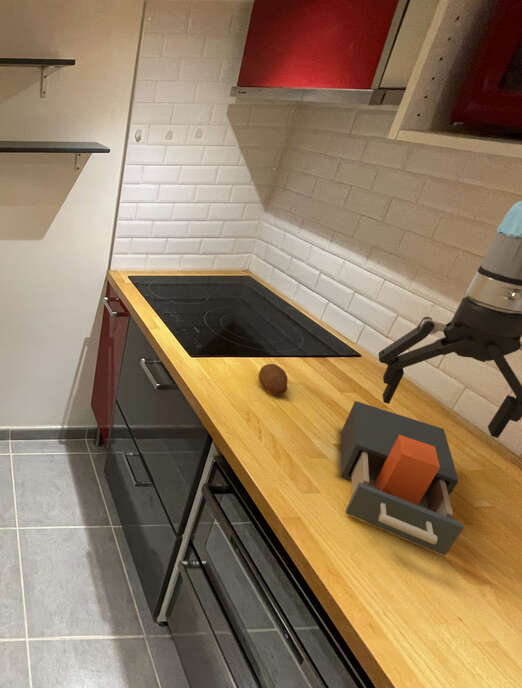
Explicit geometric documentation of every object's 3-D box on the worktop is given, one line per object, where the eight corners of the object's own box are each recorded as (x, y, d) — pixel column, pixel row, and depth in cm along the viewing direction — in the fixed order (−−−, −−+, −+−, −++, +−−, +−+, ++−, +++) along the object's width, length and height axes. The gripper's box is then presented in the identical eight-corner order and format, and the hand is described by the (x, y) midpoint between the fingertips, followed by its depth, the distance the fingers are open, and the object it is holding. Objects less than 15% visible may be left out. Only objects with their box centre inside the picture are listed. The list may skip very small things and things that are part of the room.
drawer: (449, 576, 72) (469, 548, 69) (345, 530, 79) (359, 502, 76) (432, 494, 86) (448, 468, 84) (345, 461, 94) (357, 436, 91)
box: (408, 494, 85) (435, 446, 80) (411, 516, 80) (440, 467, 76) (374, 481, 88) (399, 434, 83) (376, 502, 83) (401, 453, 78)
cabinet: (437, 515, 83) (459, 481, 80) (340, 476, 91) (356, 444, 87) (425, 460, 96) (444, 428, 92) (341, 430, 103) (354, 400, 100)
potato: (261, 396, 115) (268, 376, 112) (250, 375, 123) (256, 356, 121) (290, 401, 113) (297, 380, 111) (277, 378, 122) (283, 359, 119)
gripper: (393, 290, 71) (346, 397, 80) (641, 341, 58) (552, 463, 66) (390, 275, 76) (346, 377, 85) (616, 319, 63) (536, 434, 72)
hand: (436, 415), depth 76 cm, fingers open, 13 cm apart
